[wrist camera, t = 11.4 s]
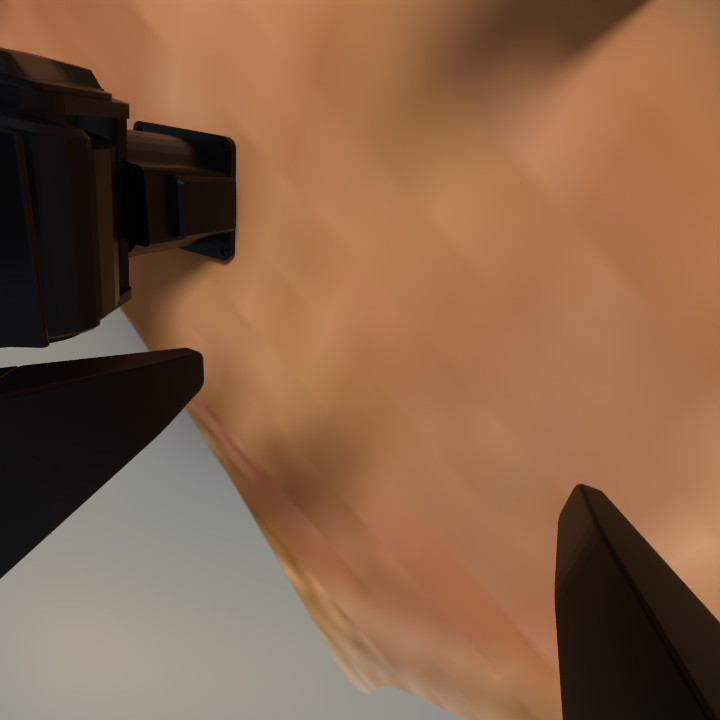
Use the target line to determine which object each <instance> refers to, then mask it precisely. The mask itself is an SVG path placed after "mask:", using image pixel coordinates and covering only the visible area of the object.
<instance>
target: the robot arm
mask: <svg viewBox="0 0 720 720" xmlns="http://www.w3.org/2000/svg"><path fill="white" fill-rule="evenodd" d="M127 119H129V104H128V103H125V102H122V101H119V100H117V99H114V98H112V94H110V93H108V92H105V91H104V89H101V87H100V85H99V83H98V82H97V80H96V78H95V76H94V75H93V73H92V71H91V70H89V69H86V68H83V67H80V66H76V65H72V64H69V63H65V62H61V61H57V60H54V59H50V58H46V57H42V56H38V55H34V54H30V53H25V52H20V51H15V50H10V49H5V48H0V348H2V347H34V348H44V347H47V346H49V343H52V342H57V341H62V340H66V339H69V338H72V337H75V336H77V335H79V334H80V333H83V332H86V331H89V330H92V329H94V328H95V327H97V326H99V325H100V320H101V319H102V318H104V317H105V316H107V315H108V314H109V313H111V312H112V311H114V310H115V309H117V308H118V307H120V306H121V305H122V304H124V303H125V302H127V301H128V300H130V299H131V287H130V286H129V257H131V256H137V255H142V254H147V253H153V252H158V251H163V250H169V249H174V248H180V249H184V250H188V251H191V252H195V253H199V254H202V255H206V256H210V257H213V258H217V259H221V260H229V259H232V258H233V257H234V254H235V227H236V146H235V143H234V141H233V140H232V139H231V138H229V137H226V136H220V135H215V134H209V133H204V132H198V131H192V130H187V129H181V128H176V127H170V126H165V125H159V124H153V123H148V122H142V121H137V122H136V123H135V124H134V127H133V130H128V129H127ZM143 130H144V132H143ZM225 143H226V144H227V151H225V150H224V144H225ZM224 248H225V249H226V250H227V254H225V252H224ZM203 382H204V369H203V356H202V354H201V353H200V352H198V351H195V350H192V349H189V348H179V349H170V350H161V351H152V352H144V353H134V354H124V355H115V356H106V357H97V358H88V359H78V360H69V361H60V362H51V363H42V364H33V365H24V366H20V367H17V366H14V367H5V368H0V578H2V577H3V576H4V575H5V574H6V573H7V572H8V571H9V570H10V569H12V568H13V567H14V566H15V565H16V564H17V563H18V562H19V561H20V560H21V559H23V558H24V557H25V556H26V555H27V554H28V553H29V552H30V551H31V550H33V549H34V548H35V547H36V546H37V545H38V544H39V543H40V542H41V541H42V540H44V539H45V538H46V537H47V536H48V535H49V534H50V533H51V532H52V531H53V530H55V529H56V528H57V527H58V526H59V525H60V524H61V523H62V522H63V521H64V520H65V519H67V518H68V517H69V516H70V515H71V514H72V513H73V512H74V511H75V510H77V509H78V508H79V507H80V506H81V505H82V504H83V503H84V502H85V501H87V500H88V499H89V498H90V497H91V496H92V495H93V494H94V493H95V492H96V491H97V490H99V489H100V488H101V487H102V486H103V485H104V484H105V483H106V482H107V481H108V480H110V479H111V478H112V477H113V476H114V475H115V474H116V473H117V472H118V471H120V470H121V469H122V468H123V467H124V466H125V465H126V464H127V463H128V462H129V461H131V460H132V459H133V458H134V457H135V456H136V455H137V454H138V453H139V452H140V451H142V450H143V449H144V448H145V447H146V446H147V445H148V444H149V443H150V442H151V441H153V440H154V439H155V438H156V437H157V436H158V435H159V434H160V433H161V432H162V431H163V430H164V429H165V428H166V427H167V426H168V425H169V424H170V423H171V421H172V420H173V419H174V418H175V417H176V416H177V415H178V413H180V412H181V410H182V409H183V408H184V407H185V406H186V405H187V404H188V403H189V402H190V401H191V399H192V398H193V397H194V396H195V395H196V394H197V393H198V392H199V391H200V389H201V388H202V386H203ZM555 614H556V628H557V643H558V657H559V672H560V686H561V701H562V715H563V720H720V622H719V621H718V620H717V619H716V618H715V617H714V615H713V614H712V613H711V612H710V611H709V610H708V609H707V608H706V607H705V605H704V604H703V603H702V602H701V601H700V600H699V599H698V598H697V597H696V595H695V594H694V593H693V592H692V591H691V590H690V589H689V588H688V586H687V585H686V584H685V583H684V582H683V581H682V580H681V579H680V578H679V576H678V575H677V574H676V573H675V572H674V571H673V570H672V569H671V568H670V566H669V565H668V564H667V563H666V562H665V561H664V560H663V559H662V558H661V556H660V555H659V554H658V553H657V552H656V551H655V550H654V549H653V548H652V546H651V545H650V544H649V543H648V542H647V541H646V540H645V539H644V538H643V536H642V535H641V534H640V533H639V532H638V531H637V530H636V529H635V528H634V526H633V525H632V524H631V523H630V522H629V521H628V520H627V519H626V518H625V516H624V515H623V514H622V513H621V512H620V511H619V510H618V509H617V508H616V506H615V505H614V504H613V503H612V502H611V501H610V500H609V499H608V498H607V496H606V495H605V494H604V493H603V492H602V491H600V490H599V489H596V488H593V487H590V486H587V485H584V484H578V485H576V486H575V488H574V489H573V491H572V493H571V495H570V496H569V498H568V500H567V502H566V504H565V506H564V507H563V509H562V511H561V513H560V516H559V521H558V535H557V553H556V571H555Z"/></svg>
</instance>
